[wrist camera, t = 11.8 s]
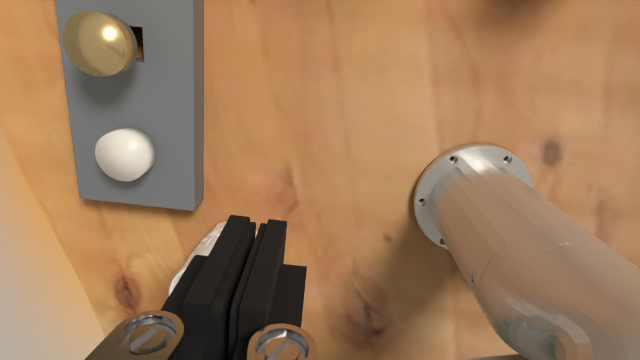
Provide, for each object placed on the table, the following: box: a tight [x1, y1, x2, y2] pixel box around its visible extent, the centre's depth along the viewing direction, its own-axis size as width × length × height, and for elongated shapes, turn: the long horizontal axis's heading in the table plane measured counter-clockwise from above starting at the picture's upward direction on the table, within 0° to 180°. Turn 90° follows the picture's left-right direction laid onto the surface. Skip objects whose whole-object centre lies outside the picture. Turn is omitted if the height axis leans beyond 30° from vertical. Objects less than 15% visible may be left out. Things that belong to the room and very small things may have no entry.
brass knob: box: [63, 11, 138, 77], centre depth 32 cm, size 5×5×5 cm
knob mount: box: [55, 0, 204, 211], centre depth 36 cm, size 12×32×3 cm, turn 174°
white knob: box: [95, 127, 156, 181], centre depth 38 cm, size 5×5×5 cm
